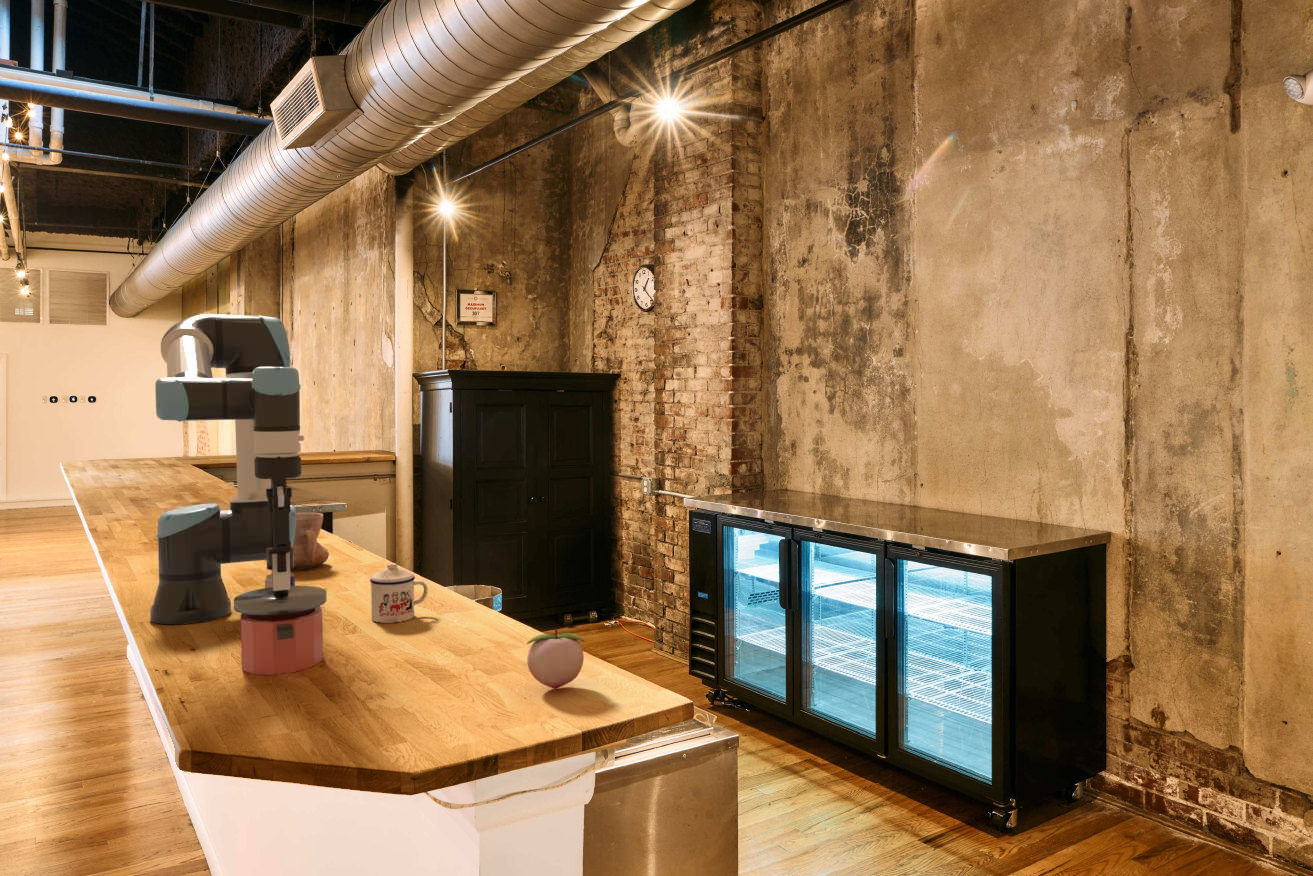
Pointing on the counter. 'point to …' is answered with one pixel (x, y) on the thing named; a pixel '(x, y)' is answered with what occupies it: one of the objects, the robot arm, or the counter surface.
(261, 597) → the lid
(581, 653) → the decorative fruit
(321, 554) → the ceramic jug
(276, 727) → the counter surface
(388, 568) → the teacup with lid
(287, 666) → the pot
